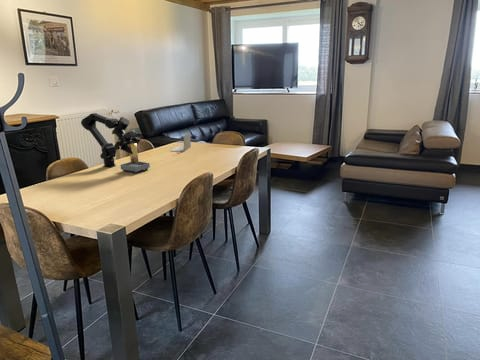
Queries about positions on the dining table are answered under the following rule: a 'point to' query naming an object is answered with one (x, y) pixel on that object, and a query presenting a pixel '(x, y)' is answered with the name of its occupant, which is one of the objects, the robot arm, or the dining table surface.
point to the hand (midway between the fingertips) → (135, 153)
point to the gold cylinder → (135, 154)
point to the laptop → (186, 144)
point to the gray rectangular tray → (135, 166)
